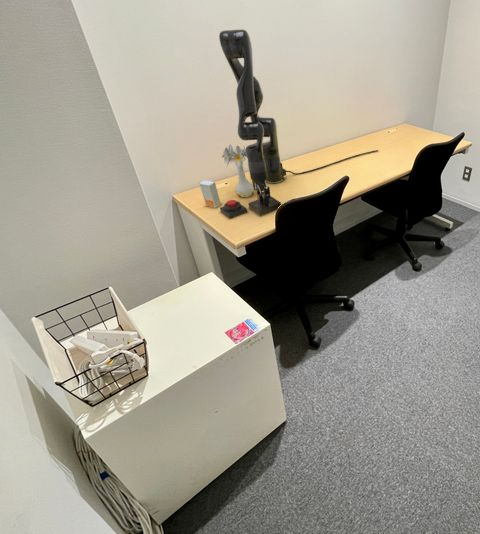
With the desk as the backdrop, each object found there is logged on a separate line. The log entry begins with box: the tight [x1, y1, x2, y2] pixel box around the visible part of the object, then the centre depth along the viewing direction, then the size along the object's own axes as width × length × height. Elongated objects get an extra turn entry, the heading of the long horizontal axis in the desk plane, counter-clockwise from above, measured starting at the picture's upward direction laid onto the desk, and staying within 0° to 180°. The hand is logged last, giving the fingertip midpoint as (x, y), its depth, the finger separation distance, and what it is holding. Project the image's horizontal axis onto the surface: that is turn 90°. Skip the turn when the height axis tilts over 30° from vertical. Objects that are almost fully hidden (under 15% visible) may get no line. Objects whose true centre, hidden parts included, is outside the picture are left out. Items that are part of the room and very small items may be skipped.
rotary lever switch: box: [247, 195, 282, 217], centre depth 159 cm, size 12×10×3 cm
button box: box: [219, 200, 248, 220], centre depth 155 cm, size 9×9×4 cm
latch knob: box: [256, 194, 270, 205], centre depth 156 cm, size 6×2×5 cm, turn 134°
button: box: [226, 199, 237, 207], centre depth 154 cm, size 4×4×2 cm
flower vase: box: [221, 143, 255, 198], centre depth 163 cm, size 13×18×25 cm
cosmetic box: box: [198, 179, 222, 209], centre depth 158 cm, size 6×4×12 cm
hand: (263, 202), depth 158 cm, fingers closed on rotary lever switch, 6 cm apart
